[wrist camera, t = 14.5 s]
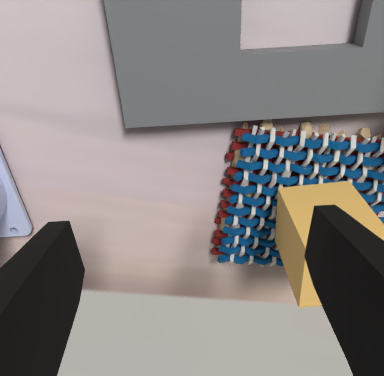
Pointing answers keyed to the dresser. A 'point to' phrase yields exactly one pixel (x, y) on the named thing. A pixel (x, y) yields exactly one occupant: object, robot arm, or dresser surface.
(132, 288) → the dresser surface
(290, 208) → the ochre block
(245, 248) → the woven mat
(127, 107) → the puzzle board
